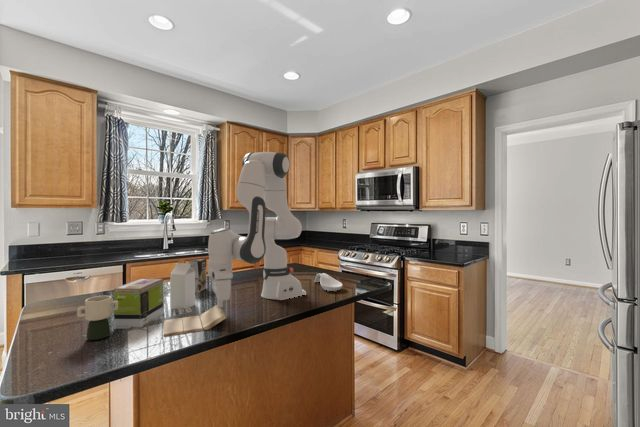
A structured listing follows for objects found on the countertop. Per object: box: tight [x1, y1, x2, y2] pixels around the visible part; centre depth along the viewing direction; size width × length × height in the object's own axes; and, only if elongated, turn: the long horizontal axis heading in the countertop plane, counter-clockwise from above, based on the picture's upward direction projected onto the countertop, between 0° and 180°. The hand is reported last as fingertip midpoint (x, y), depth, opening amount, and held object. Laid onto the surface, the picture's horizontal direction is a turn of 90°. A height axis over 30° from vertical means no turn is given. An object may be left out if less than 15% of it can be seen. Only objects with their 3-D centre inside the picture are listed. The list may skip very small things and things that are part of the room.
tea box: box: [113, 278, 165, 330], centre depth 113 cm, size 15×10×15 cm, turn 178°
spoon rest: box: [313, 272, 343, 292], centre depth 165 cm, size 24×12×7 cm, turn 26°
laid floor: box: [163, 314, 203, 337], centre depth 107 cm, size 12×14×2 cm
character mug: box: [76, 295, 118, 341], centre depth 98 cm, size 11×7×13 cm, turn 135°
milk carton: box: [169, 262, 196, 310], centre depth 130 cm, size 7×7×19 cm
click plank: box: [199, 304, 227, 331], centre depth 111 cm, size 8×14×2 cm, turn 27°
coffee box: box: [187, 258, 207, 294], centre depth 158 cm, size 9×6×16 cm
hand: (220, 306), depth 116 cm, fingers closed, pressing on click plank
